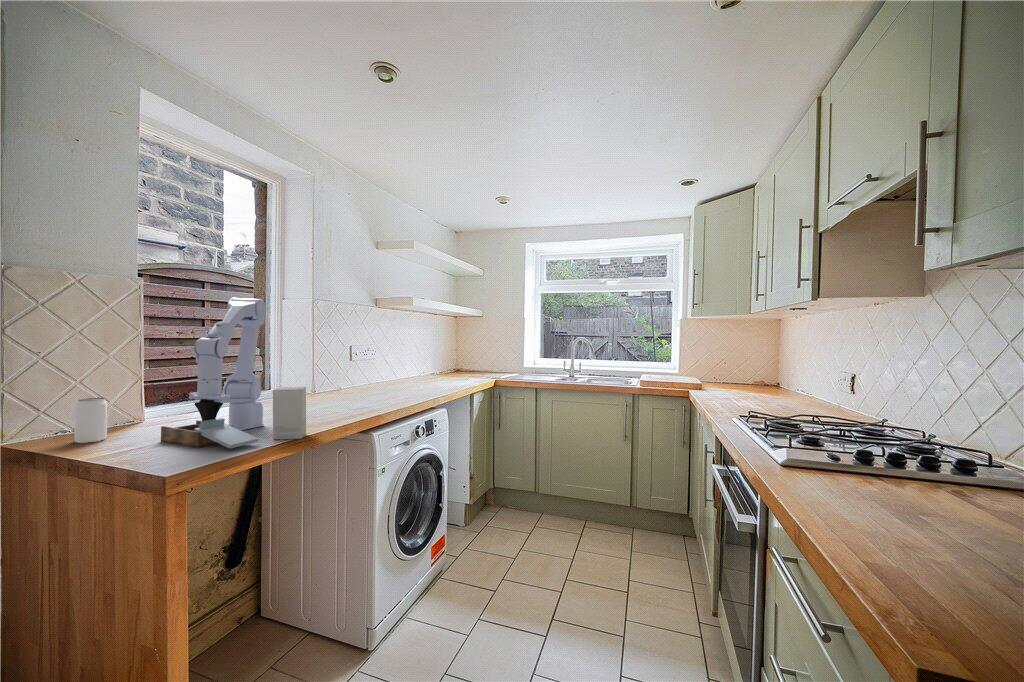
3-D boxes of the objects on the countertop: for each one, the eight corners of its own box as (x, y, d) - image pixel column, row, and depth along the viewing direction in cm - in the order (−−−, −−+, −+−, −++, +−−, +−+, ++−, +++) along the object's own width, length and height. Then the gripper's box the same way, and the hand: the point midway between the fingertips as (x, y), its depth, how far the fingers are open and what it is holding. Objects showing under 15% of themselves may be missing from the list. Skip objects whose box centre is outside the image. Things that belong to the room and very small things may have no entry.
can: (68, 442, 115) (69, 399, 115) (97, 437, 121) (98, 396, 121) (84, 444, 113) (85, 401, 113) (112, 439, 120) (113, 398, 120)
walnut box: (160, 441, 119) (161, 426, 119) (197, 434, 128) (197, 420, 128) (197, 448, 113) (198, 432, 113) (233, 440, 123) (233, 425, 123)
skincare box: (306, 434, 133) (307, 386, 132) (301, 439, 126) (302, 389, 126) (277, 435, 131) (279, 386, 130) (270, 440, 124) (272, 389, 124)
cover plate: (193, 431, 115) (195, 421, 115) (223, 426, 123) (224, 416, 123) (229, 448, 110) (231, 437, 110) (258, 441, 118) (260, 431, 118)
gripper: (178, 378, 118) (177, 425, 118) (212, 381, 113) (211, 431, 113) (204, 376, 125) (202, 421, 125) (237, 379, 119) (236, 426, 120)
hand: (208, 425), depth 119 cm, fingers closed
